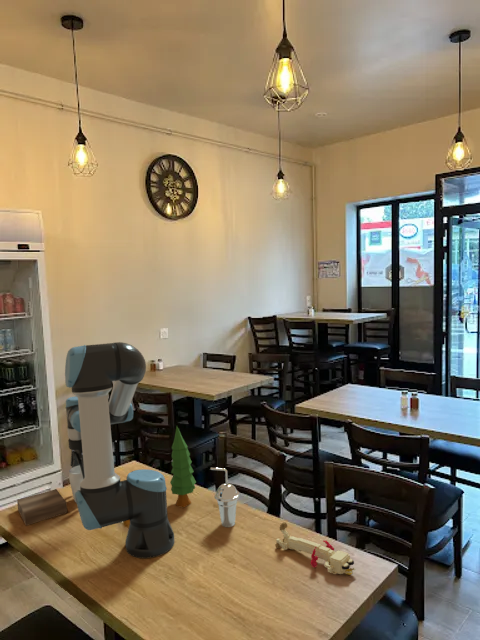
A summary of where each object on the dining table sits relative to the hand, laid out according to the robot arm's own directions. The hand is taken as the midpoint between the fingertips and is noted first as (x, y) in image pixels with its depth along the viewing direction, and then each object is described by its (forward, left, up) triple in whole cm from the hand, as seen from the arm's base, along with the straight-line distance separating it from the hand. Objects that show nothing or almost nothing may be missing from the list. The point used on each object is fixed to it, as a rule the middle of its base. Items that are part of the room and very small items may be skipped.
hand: (82, 491), depth 183 cm
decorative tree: (-28, -29, -3) cm, 41 cm away
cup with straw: (-51, -33, -3) cm, 61 cm away
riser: (0, +15, -3) cm, 15 cm away
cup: (0, 0, -3) cm, 3 cm away
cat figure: (-84, -41, -4) cm, 94 cm away
